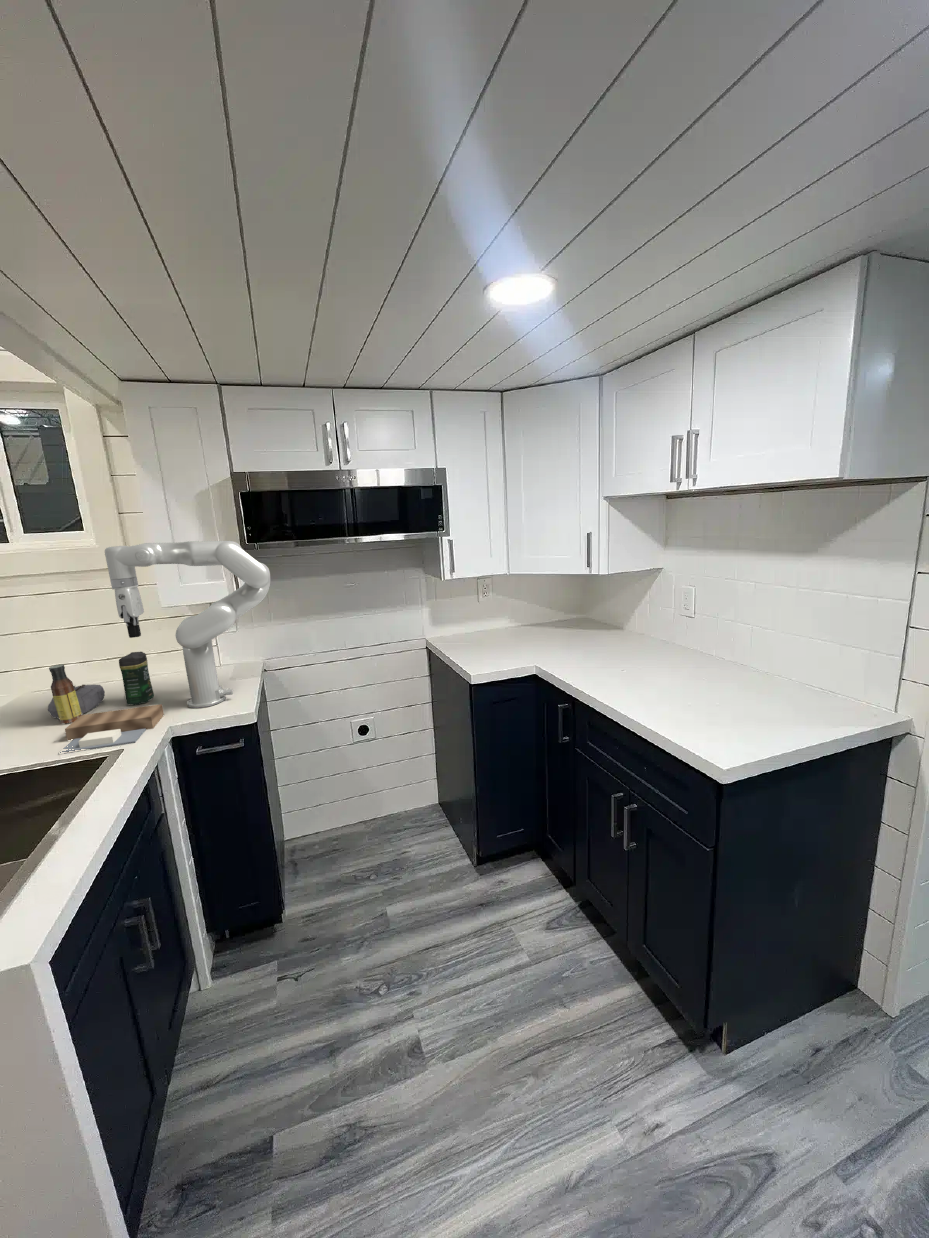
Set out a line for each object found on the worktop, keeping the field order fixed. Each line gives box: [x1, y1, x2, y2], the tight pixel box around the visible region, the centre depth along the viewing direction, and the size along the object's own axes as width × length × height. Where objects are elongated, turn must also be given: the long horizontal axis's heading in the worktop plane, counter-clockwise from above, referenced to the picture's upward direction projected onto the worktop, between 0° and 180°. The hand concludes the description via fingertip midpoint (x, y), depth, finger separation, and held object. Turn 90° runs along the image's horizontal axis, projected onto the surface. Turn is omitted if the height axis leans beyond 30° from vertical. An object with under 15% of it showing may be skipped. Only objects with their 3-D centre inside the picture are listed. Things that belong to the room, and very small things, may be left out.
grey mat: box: [59, 728, 147, 753], centre depth 159 cm, size 20×10×1 cm, turn 105°
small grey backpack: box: [47, 684, 106, 719], centre depth 189 cm, size 15×8×20 cm
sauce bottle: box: [48, 664, 82, 725], centre depth 177 cm, size 7×6×20 cm
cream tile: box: [78, 729, 122, 748], centre depth 158 cm, size 9×6×2 cm, turn 103°
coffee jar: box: [118, 651, 155, 706], centre depth 193 cm, size 10×8×19 cm
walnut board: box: [64, 703, 165, 740], centre depth 170 cm, size 24×12×4 cm, turn 105°
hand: (135, 636), depth 177 cm, fingers closed
